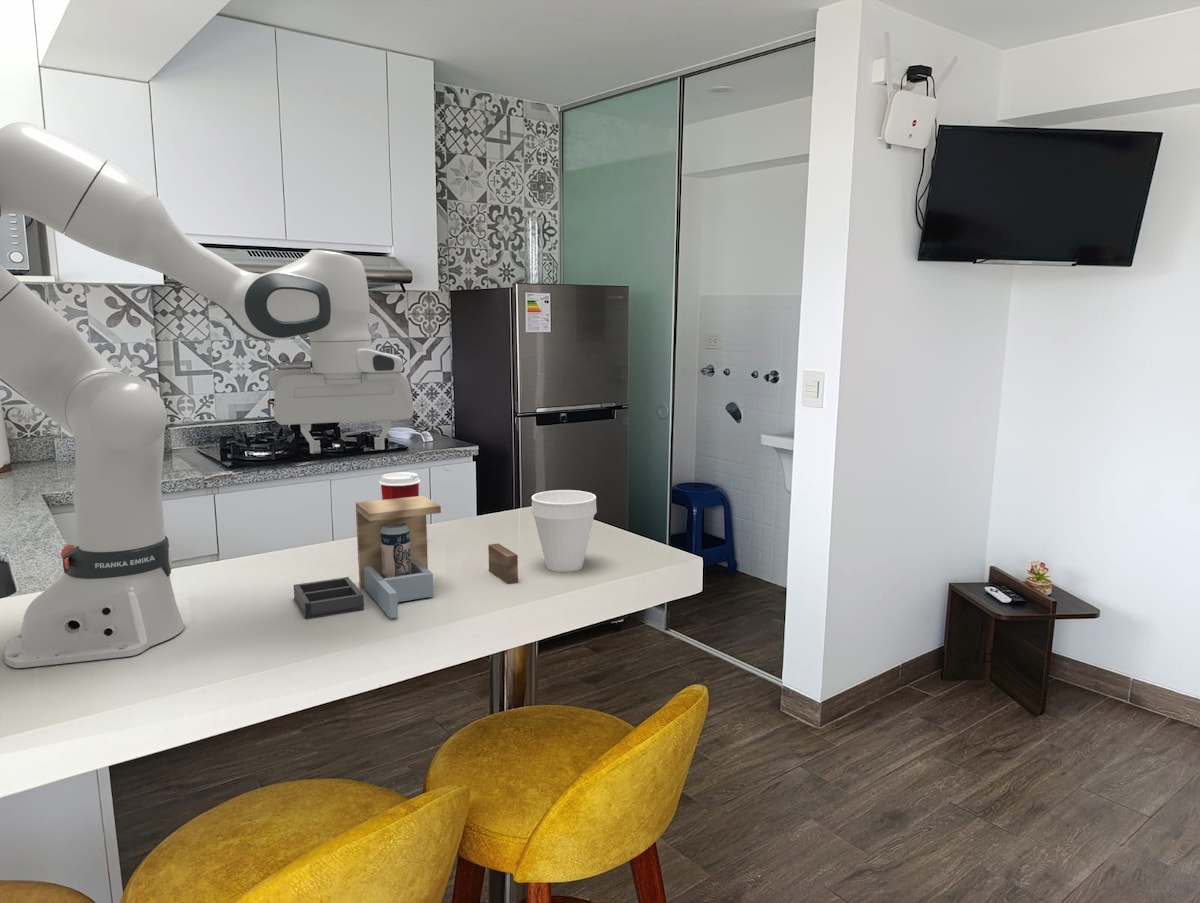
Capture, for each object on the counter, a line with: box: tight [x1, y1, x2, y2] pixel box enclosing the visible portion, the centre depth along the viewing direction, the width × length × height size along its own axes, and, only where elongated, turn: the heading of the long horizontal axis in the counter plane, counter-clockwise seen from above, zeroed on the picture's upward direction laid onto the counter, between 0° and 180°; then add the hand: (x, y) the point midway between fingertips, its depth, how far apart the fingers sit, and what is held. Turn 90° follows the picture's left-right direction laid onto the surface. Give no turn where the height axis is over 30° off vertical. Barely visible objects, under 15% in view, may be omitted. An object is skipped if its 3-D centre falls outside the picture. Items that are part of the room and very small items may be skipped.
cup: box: [530, 489, 598, 573], centre depth 158 cm, size 12×12×14 cm
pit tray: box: [293, 576, 365, 620], centre depth 138 cm, size 9×11×2 cm
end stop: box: [487, 543, 519, 585], centre depth 153 cm, size 2×9×5 cm, turn 29°
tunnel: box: [355, 495, 442, 590], centre depth 144 cm, size 12×10×15 cm
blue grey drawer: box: [364, 560, 434, 619], centre depth 140 cm, size 9×16×4 cm, turn 29°
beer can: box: [381, 522, 411, 578], centre depth 143 cm, size 5×5×12 cm
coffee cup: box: [378, 471, 421, 500], centre depth 172 cm, size 8×8×15 cm
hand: (347, 451), depth 128 cm, fingers open, 8 cm apart
